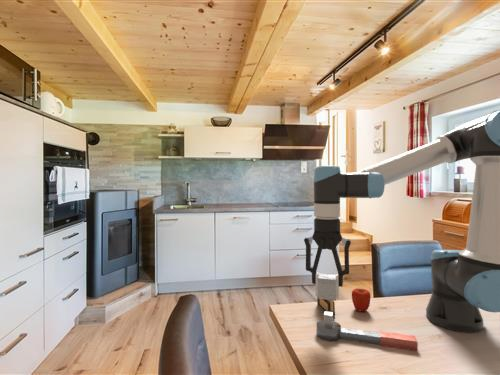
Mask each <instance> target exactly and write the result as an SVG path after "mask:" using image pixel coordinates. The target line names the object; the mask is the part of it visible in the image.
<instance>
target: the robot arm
mask: <svg viewBox="0 0 500 375" xmlns="http://www.w3.org/2000/svg"><path fill="white" fill-rule="evenodd" d="M467 159H470V160H471V161H472V163H473V164H474V165H475V172H474V181H473V190H472V197H471V204H470V205H471V206H470V212H469V213H470V214H469V221H468V228H467V235H466V236H467V238H466V243H465V244H466V245H465V246H466V247H465V248H463V249H461V250H460V249H434V250H433V251H432V252H431V259H430V264H431V266H430V267H431V295H430V298H429V300H428V303H427V305H426V309H425V316H426V318H427V320H429V321H430V322H432V323H433V324H435V325H437V326H438V327H442V328H444V329H448V330H451V331H456V332H461V333H462V332H464V333H476V332H477V333H478V332H481V331H483V330H484V327H485V326H484V318H483V315H482V313H481V310H482V311H485V312H487V313H500V109H497V110H493V111H492V112H490V113H488V114H486V115H483V116H480V117H478V118H474V119H472V120H469V121H467V122H465V123H463V124H461V125H460V126H458V127H456V128H455V129H452V130H449V132H448V131H447V132H446V133H444V134H441V135H439V136H437V137H436V139H435V140H434V141H432V142H430V143H427V144H424V145H422V146H419V147H416V148H414V149H411V150H409V151H405V152H404V153H403V152H402V153H401V154H399V155H397V156H394V157H391V158H388V159H386V160H383V161H380V162H379V163H375V164H372V165H371V166H368V167H365V168H363V169H360V170H358V171H355V172H341V168H340V166H338V165H320V166H317V167H316V168H315V169H314V174H313V217H315V218H314V219H313V234H312V236H311V235H310V236H306V237H304V238H303V242H304V244H305V270H306V272H309V273H311V283H312V285H315V297H317V296H318V276H319V273H320V271H318V270H317V269H318V267H319V262H320V259H321V255H322V252H323V250H330V251H331V252H332V255H333V259H334V263H335V266H336V272H337V273H335V275H336V300H337V299H339V298H340V287H341V288H342V287H343V285H344V283H343V282H344V281H343V280H344V278H343V276H345V275H349V273H350V253H349V252H350V249H349V248H350V247H351V244H352V241H351V239H350V238H348V239H347V238H345V237H343V236H342V234H341V220H340V218H339V217H341V198H343V199H348V198H349V199H354V198H355V199H376V198H381V197H382V196H383V195H384V192H385V186H386V185H389V184H391V183H394V182H397V181H399V180H401V179H402V180H403V179H404V178H407V177H410V176H413V175H415V174H418V173H420V172H424V171H425V170H429V169H431V168H434V167H437V166H439V165H442V164H444V163H447V164H454V163H455V162H458V161H463V160H467ZM313 241H314V242H315V244H316V245H317V250H316V254H315V258H314V261H313V265H311V264H312V262H311V258H312V255H311V254H312V243H313ZM340 243H342V246H343V247H344V249H343V250H344V255H343V256H344V258H343V259H344V268H342V264H341V260H340V256H339V254H338V248H337V247H338V245H339V244H340Z"/></svg>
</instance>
